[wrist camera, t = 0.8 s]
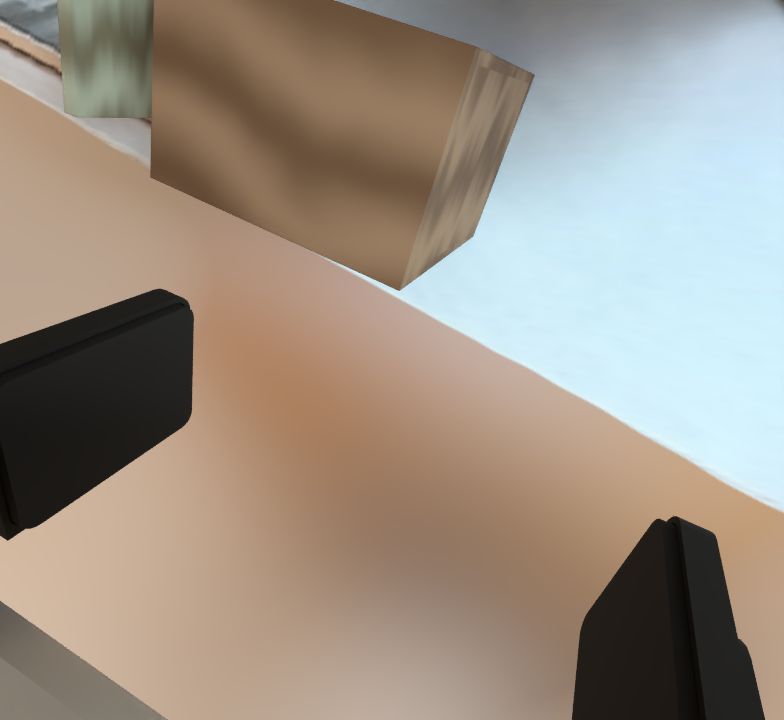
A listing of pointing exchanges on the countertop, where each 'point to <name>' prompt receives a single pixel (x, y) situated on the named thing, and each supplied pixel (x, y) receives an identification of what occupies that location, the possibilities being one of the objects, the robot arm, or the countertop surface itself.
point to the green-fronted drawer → (107, 57)
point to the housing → (331, 126)
